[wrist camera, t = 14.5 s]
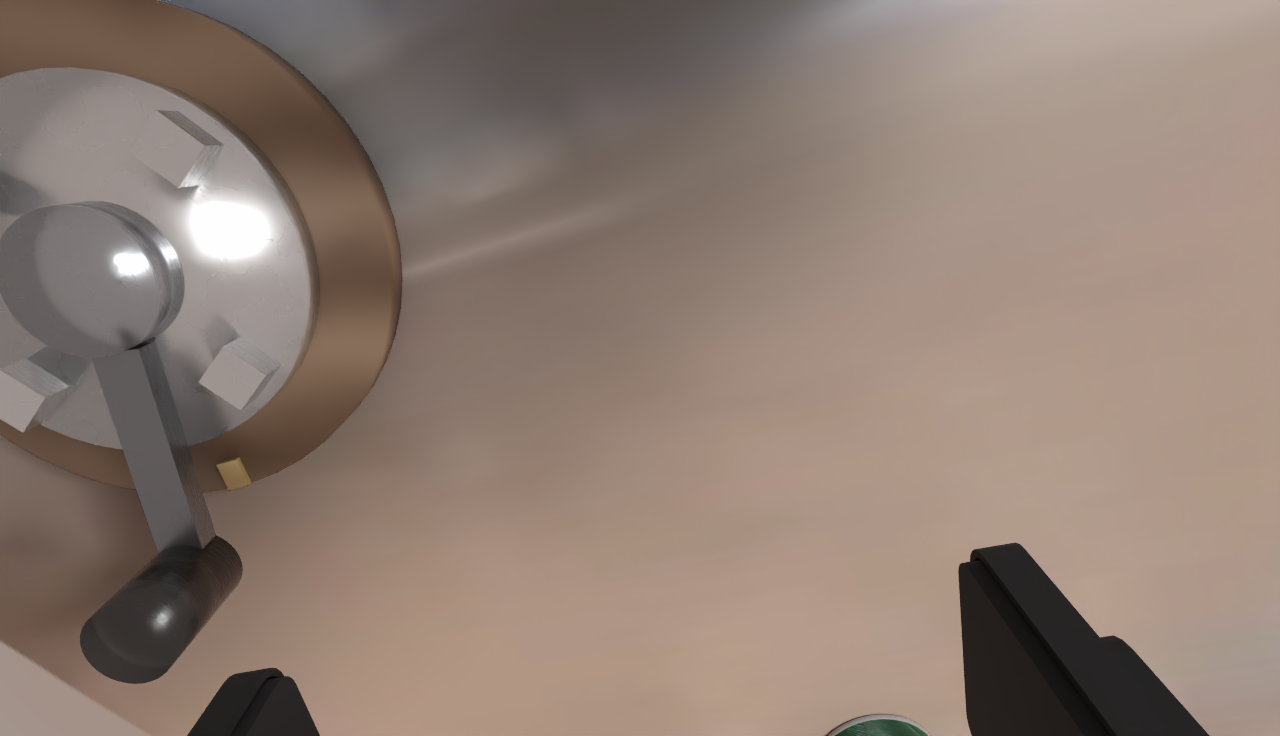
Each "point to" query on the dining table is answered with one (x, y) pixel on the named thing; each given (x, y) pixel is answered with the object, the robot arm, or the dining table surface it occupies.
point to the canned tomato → (880, 727)
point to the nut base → (315, 172)
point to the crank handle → (146, 315)
